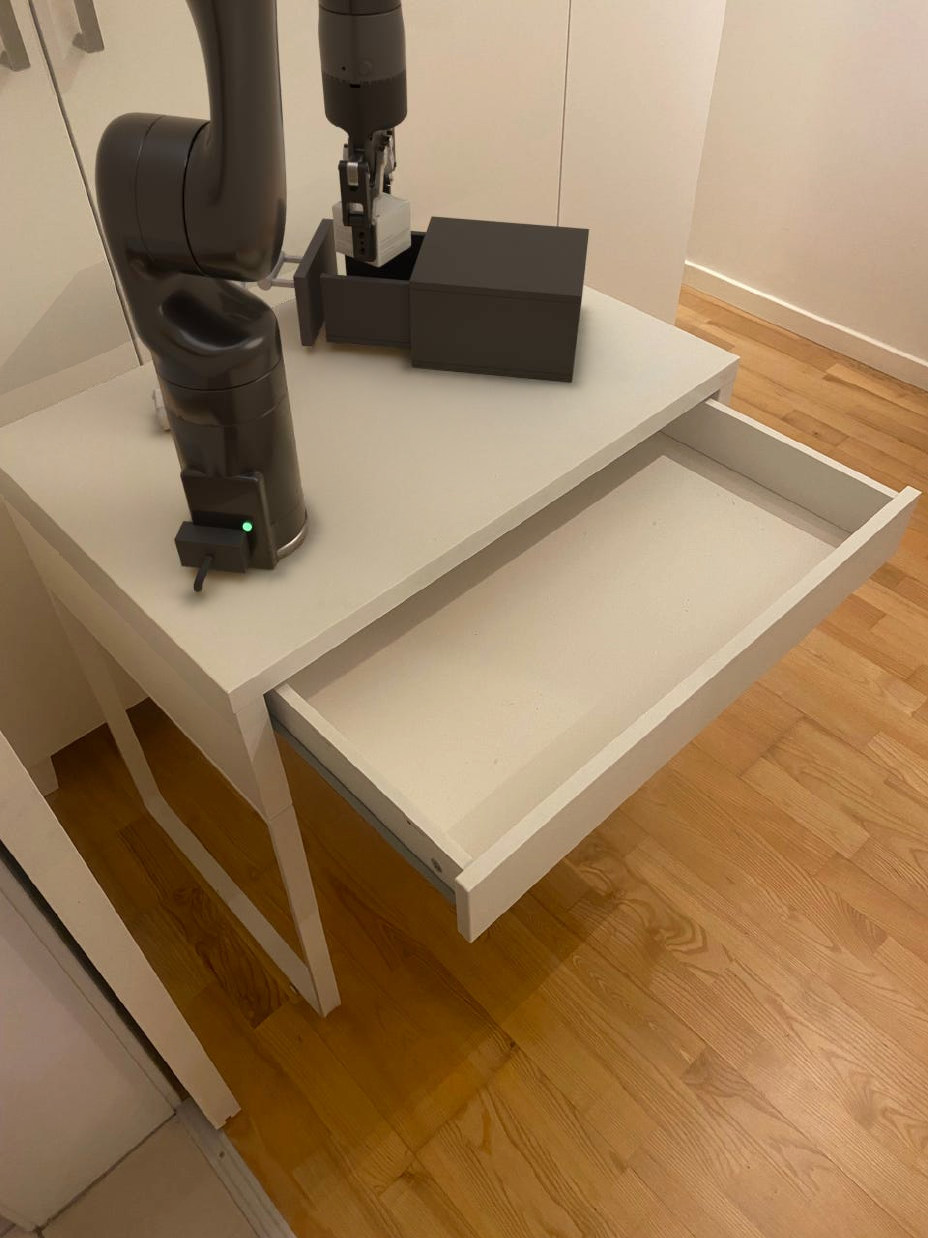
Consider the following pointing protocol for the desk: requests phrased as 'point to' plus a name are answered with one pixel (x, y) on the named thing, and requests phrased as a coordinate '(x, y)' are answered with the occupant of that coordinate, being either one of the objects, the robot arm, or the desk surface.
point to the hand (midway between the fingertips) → (373, 240)
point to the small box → (378, 229)
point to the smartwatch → (160, 408)
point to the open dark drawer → (350, 294)
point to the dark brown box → (497, 298)
